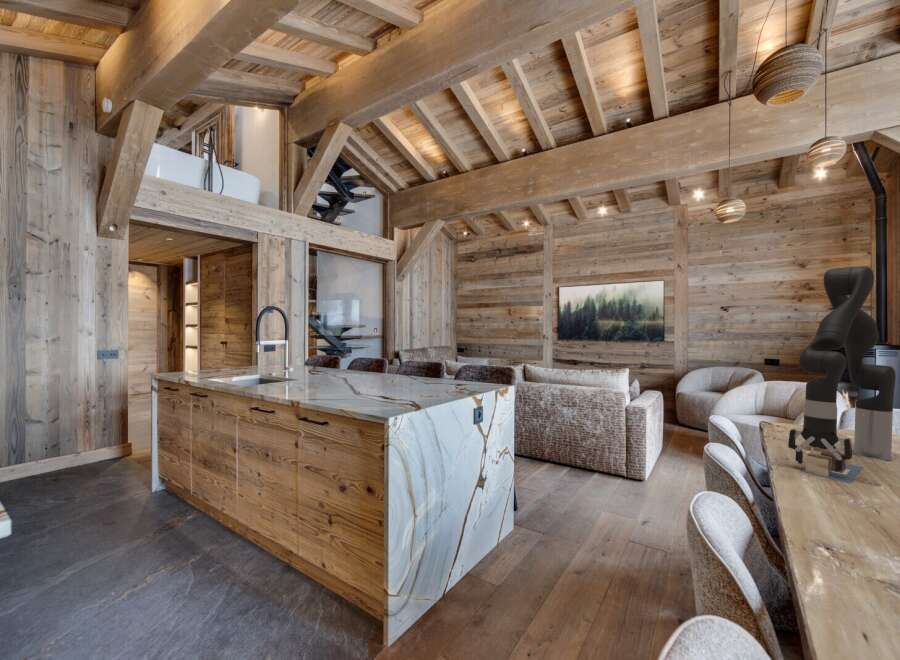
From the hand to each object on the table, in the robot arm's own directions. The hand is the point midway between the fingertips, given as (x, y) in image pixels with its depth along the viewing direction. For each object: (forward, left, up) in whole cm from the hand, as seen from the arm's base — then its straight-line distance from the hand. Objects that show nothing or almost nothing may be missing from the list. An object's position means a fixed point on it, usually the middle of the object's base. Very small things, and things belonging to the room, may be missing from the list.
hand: (818, 467), depth 122 cm
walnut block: (-8, +2, -2) cm, 9 cm away
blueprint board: (-8, +2, -3) cm, 9 cm away
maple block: (0, 0, -2) cm, 2 cm away
